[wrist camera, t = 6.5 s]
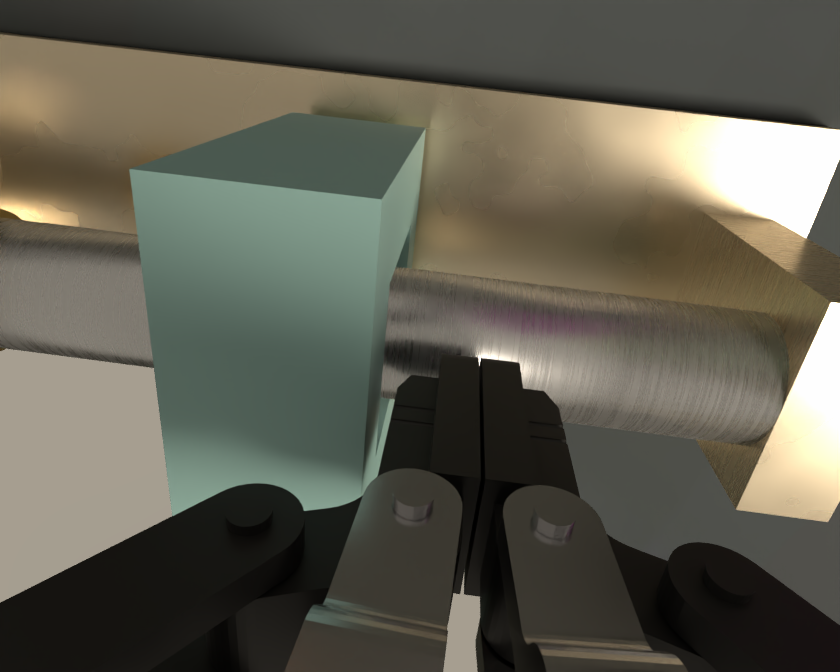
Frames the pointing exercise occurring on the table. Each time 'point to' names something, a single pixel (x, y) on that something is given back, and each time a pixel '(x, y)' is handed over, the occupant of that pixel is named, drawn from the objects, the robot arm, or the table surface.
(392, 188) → the tall mint green block
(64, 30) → the table surface
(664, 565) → the robot arm
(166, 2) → the table surface
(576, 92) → the table surface
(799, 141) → the pipe rig
